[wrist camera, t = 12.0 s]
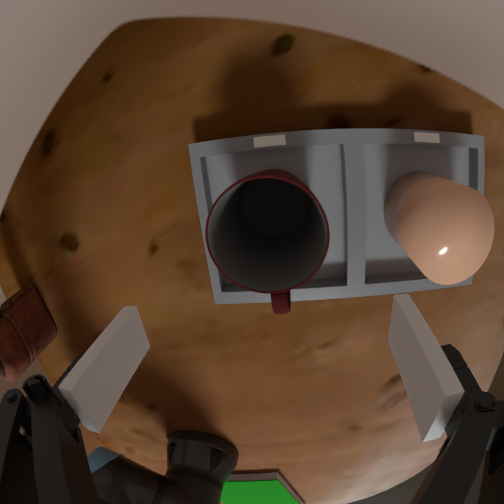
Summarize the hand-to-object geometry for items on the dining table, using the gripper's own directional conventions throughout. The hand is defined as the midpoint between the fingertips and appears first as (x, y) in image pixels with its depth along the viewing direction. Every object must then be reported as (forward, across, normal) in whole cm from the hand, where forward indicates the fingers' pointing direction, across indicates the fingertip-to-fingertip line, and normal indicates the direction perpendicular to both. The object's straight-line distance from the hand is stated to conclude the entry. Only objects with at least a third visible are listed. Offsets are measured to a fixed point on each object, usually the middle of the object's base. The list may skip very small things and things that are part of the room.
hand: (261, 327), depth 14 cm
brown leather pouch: (+20, -44, -13) cm, 50 cm away
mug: (+19, 0, 0) cm, 19 cm away
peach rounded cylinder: (+19, +16, 0) cm, 25 cm away
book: (+21, -11, -74) cm, 77 cm away
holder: (+20, +8, 0) cm, 21 cm away
